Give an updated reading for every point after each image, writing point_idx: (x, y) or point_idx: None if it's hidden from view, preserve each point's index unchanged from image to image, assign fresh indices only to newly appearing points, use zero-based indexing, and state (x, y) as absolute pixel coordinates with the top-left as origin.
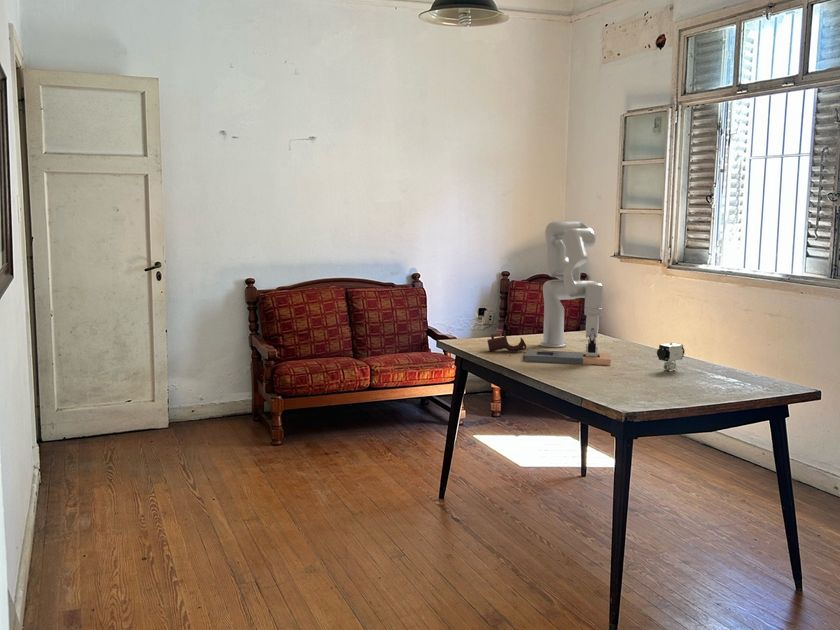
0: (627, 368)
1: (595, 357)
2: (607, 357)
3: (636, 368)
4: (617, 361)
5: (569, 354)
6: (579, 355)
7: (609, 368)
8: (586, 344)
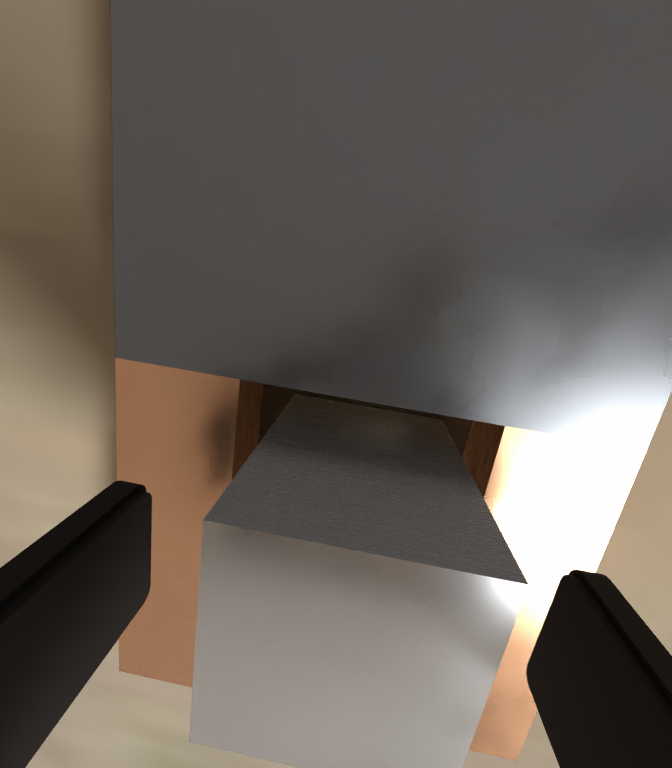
0: None
1: None
2: None
3: (91, 759)
4: None
5: (429, 147)
6: (342, 334)
7: None
8: (500, 591)
